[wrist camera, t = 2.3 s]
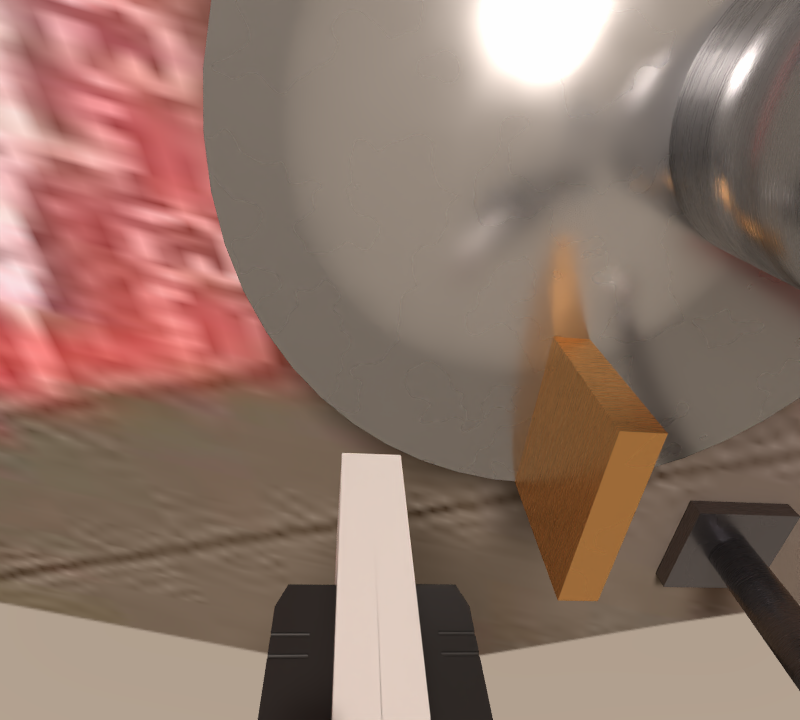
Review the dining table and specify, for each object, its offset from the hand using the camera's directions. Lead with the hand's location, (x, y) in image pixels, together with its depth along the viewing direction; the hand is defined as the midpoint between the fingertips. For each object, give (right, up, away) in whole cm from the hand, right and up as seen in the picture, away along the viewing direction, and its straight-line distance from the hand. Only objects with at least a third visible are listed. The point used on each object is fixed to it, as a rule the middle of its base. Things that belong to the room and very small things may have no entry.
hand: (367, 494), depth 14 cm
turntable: (+7, +10, +2) cm, 12 cm away
